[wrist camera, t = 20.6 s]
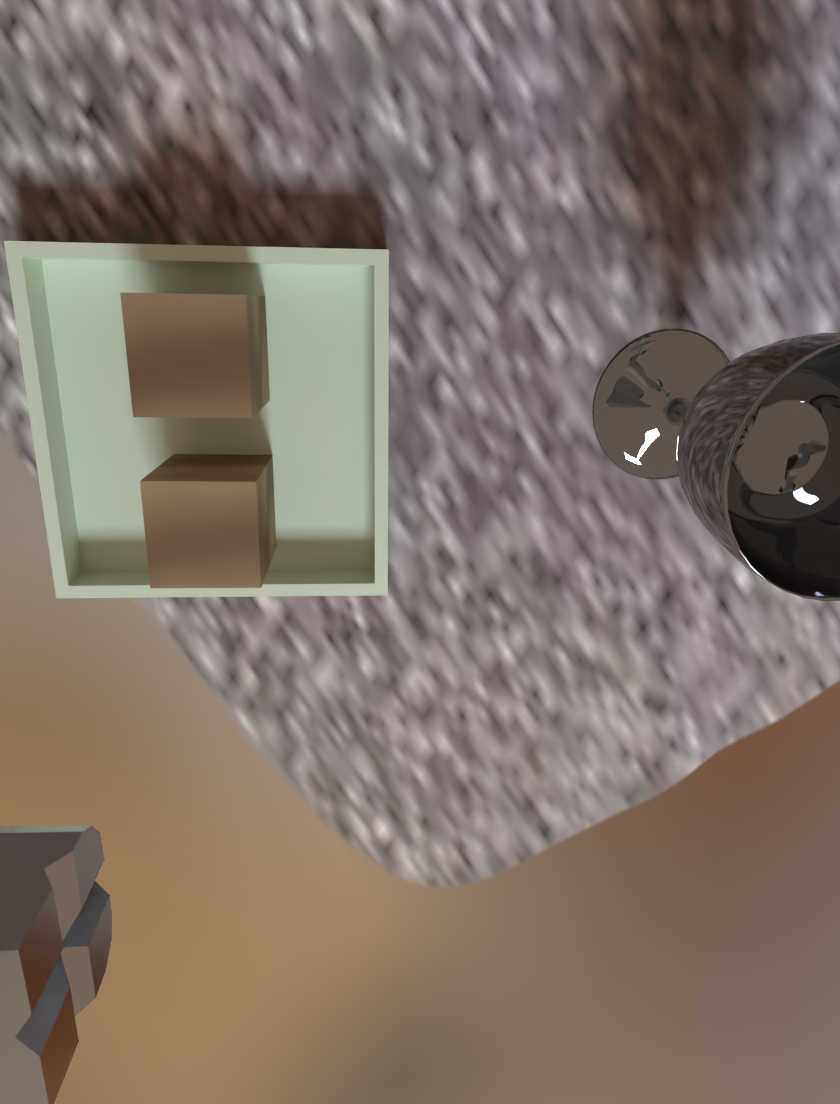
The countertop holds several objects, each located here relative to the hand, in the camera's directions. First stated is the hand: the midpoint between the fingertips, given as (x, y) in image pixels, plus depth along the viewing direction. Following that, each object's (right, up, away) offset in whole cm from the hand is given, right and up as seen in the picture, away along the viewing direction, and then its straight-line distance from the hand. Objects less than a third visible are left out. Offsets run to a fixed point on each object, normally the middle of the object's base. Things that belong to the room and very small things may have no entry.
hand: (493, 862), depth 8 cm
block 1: (-10, +12, +25) cm, 30 cm away
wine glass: (+11, +10, +28) cm, 32 cm away
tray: (-10, +9, +27) cm, 30 cm away
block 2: (-10, +6, +28) cm, 30 cm away
